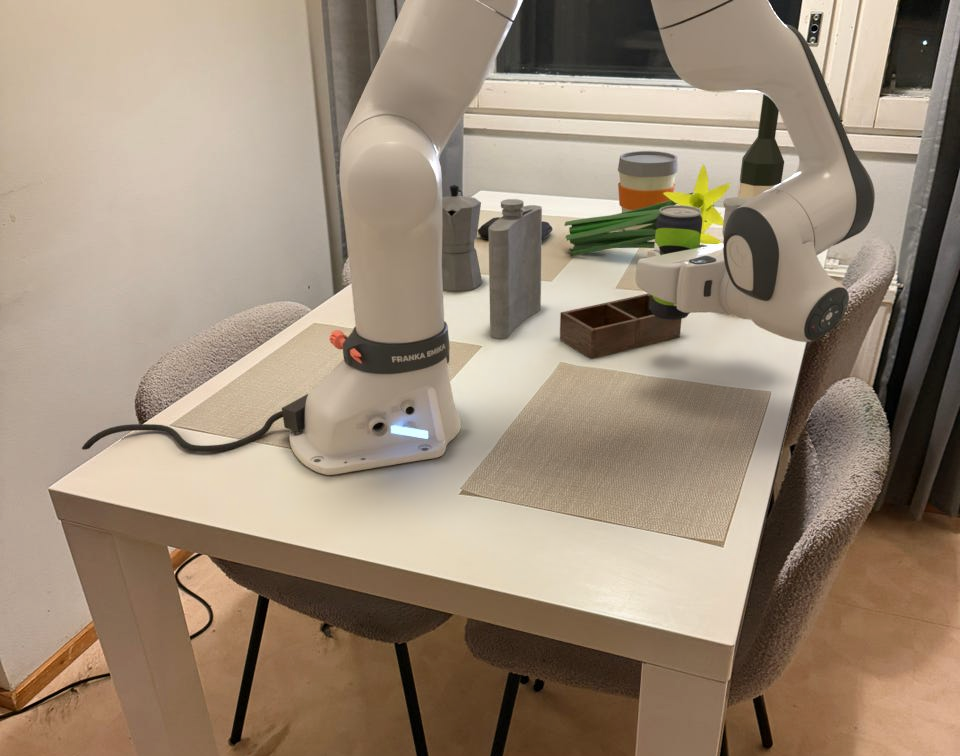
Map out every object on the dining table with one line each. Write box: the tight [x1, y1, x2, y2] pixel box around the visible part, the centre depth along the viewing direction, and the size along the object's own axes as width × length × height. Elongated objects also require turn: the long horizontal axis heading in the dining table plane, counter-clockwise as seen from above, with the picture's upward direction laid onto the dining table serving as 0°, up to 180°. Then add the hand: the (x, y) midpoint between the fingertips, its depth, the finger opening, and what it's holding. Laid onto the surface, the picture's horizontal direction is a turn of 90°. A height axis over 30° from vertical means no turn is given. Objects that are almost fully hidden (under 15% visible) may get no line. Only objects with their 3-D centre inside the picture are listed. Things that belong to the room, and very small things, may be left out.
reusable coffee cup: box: [617, 150, 679, 231], centre depth 193 cm, size 13×13×15 cm
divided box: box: [559, 293, 682, 360], centre depth 143 cm, size 17×9×5 cm, turn 118°
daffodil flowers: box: [564, 164, 731, 257], centre depth 174 cm, size 17×15×35 cm
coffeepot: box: [442, 184, 483, 293], centre depth 164 cm, size 15×9×18 cm, turn 176°
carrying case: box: [477, 216, 553, 242], centre depth 193 cm, size 11×3×15 cm
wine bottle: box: [737, 93, 785, 198], centre depth 178 cm, size 8×8×30 cm
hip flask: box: [488, 198, 543, 340], centre depth 146 cm, size 16×4×20 cm, turn 154°
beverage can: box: [649, 204, 702, 320], centre depth 128 cm, size 6×6×15 cm
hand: (671, 251), depth 128 cm, fingers closed on beverage can, 5 cm apart
